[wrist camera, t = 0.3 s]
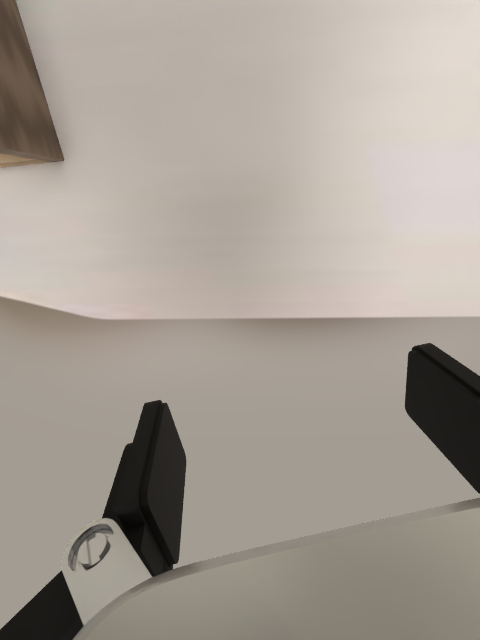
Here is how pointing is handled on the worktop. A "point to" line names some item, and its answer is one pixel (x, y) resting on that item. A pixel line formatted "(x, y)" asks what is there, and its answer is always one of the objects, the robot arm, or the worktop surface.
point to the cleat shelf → (22, 98)
